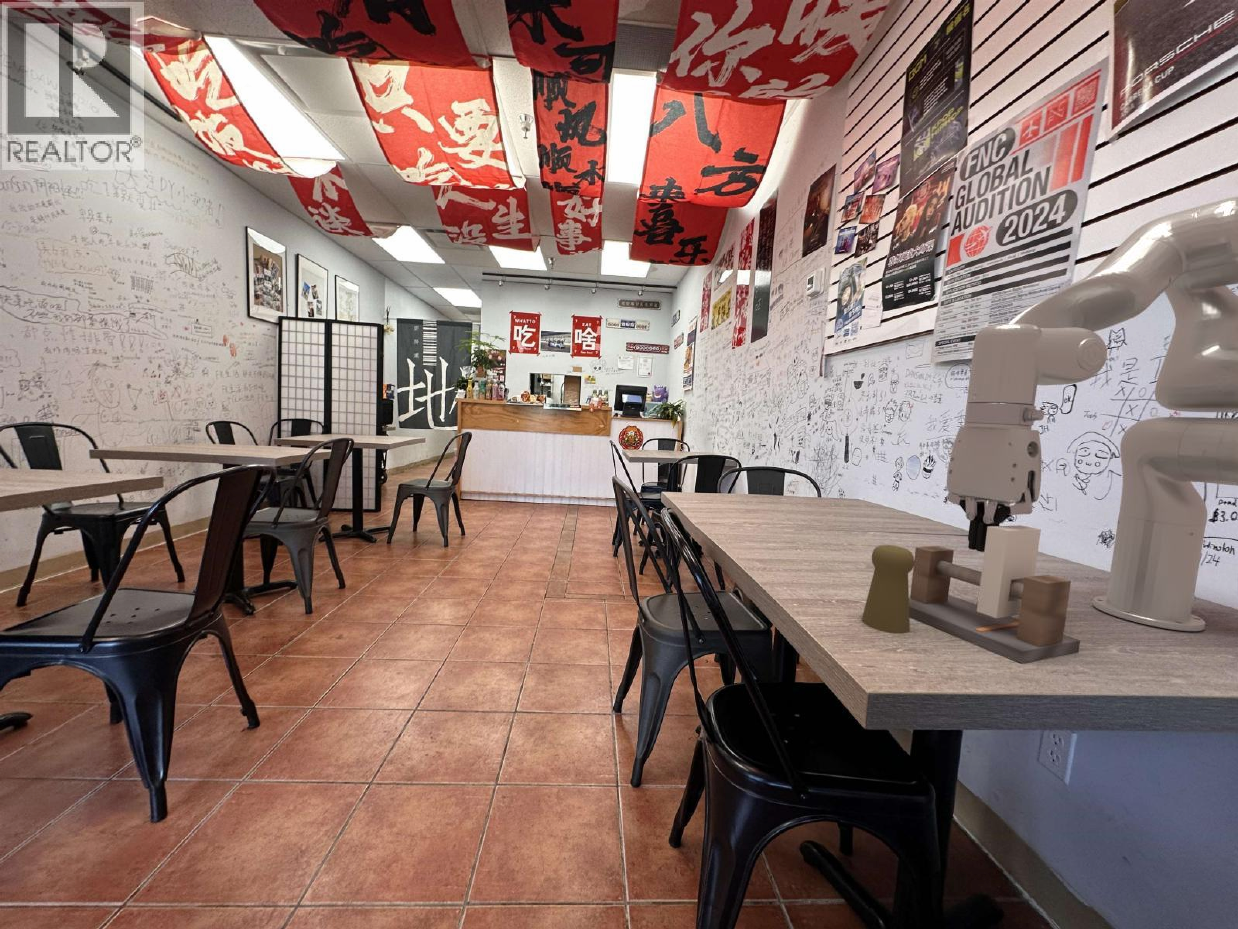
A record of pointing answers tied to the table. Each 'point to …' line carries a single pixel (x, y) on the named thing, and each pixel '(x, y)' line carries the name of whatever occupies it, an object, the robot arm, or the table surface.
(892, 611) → the olive green pawn
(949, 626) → the rod board
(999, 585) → the collar
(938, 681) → the table surface
